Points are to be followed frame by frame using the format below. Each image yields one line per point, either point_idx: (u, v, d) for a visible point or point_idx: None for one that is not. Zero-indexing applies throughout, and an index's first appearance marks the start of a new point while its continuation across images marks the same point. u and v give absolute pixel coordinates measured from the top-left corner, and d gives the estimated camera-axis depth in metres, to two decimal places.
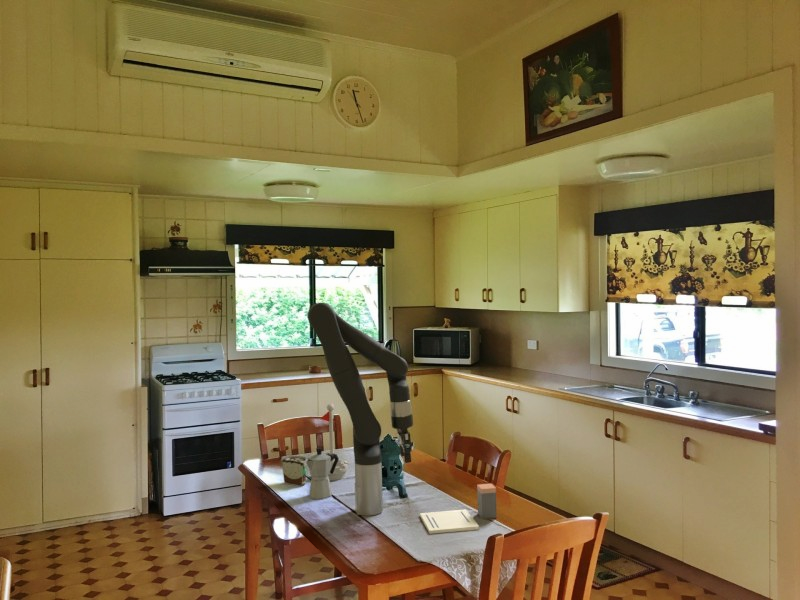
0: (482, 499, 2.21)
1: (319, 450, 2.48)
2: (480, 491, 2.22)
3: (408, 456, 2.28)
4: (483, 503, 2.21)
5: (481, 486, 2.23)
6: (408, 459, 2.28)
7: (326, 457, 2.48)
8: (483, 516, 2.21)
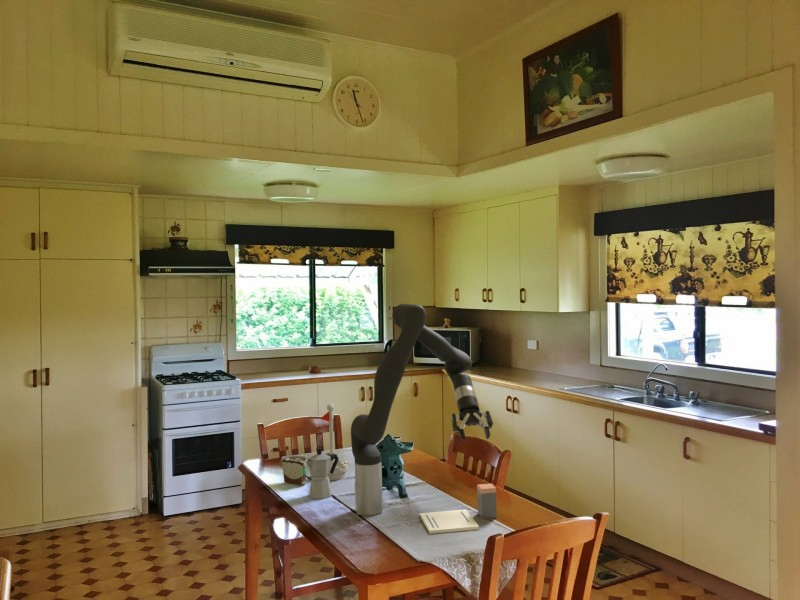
0: (482, 499, 2.21)
1: (319, 450, 2.48)
2: (480, 491, 2.22)
3: None
4: (483, 503, 2.21)
5: (481, 486, 2.23)
6: None
7: (326, 457, 2.48)
8: (483, 516, 2.21)
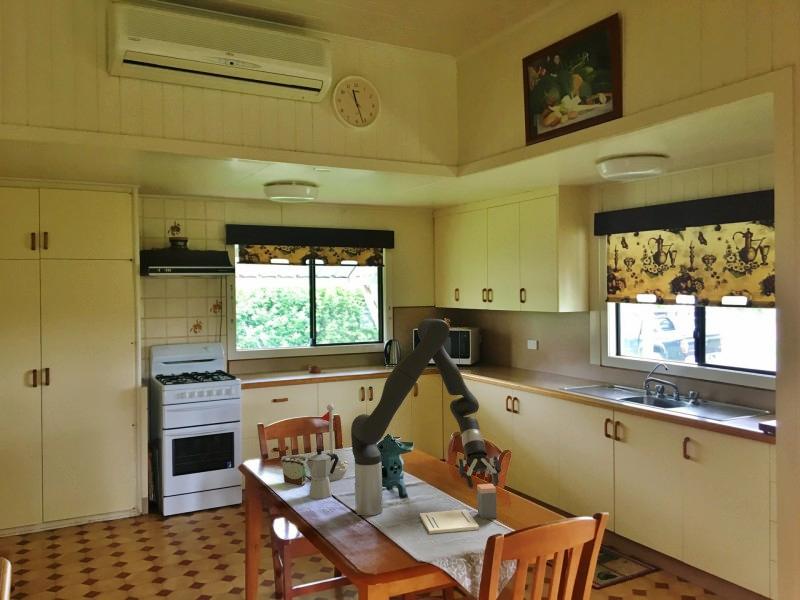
0: (482, 499, 2.21)
1: (319, 450, 2.48)
2: (480, 491, 2.22)
3: None
4: (483, 503, 2.21)
5: (481, 486, 2.23)
6: None
7: (326, 457, 2.48)
8: (483, 516, 2.21)
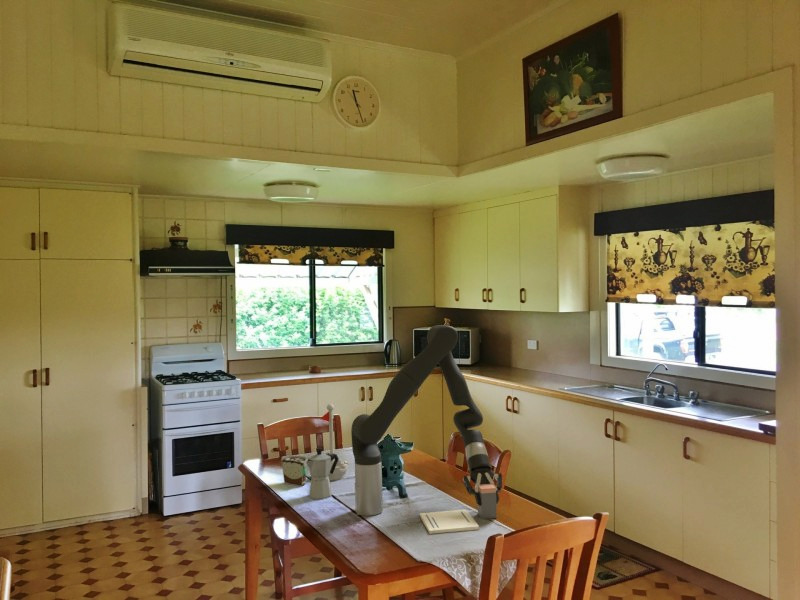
0: (482, 499, 2.21)
1: (319, 450, 2.48)
2: (480, 491, 2.22)
3: None
4: (483, 503, 2.21)
5: (481, 486, 2.23)
6: None
7: (326, 457, 2.48)
8: (483, 516, 2.21)
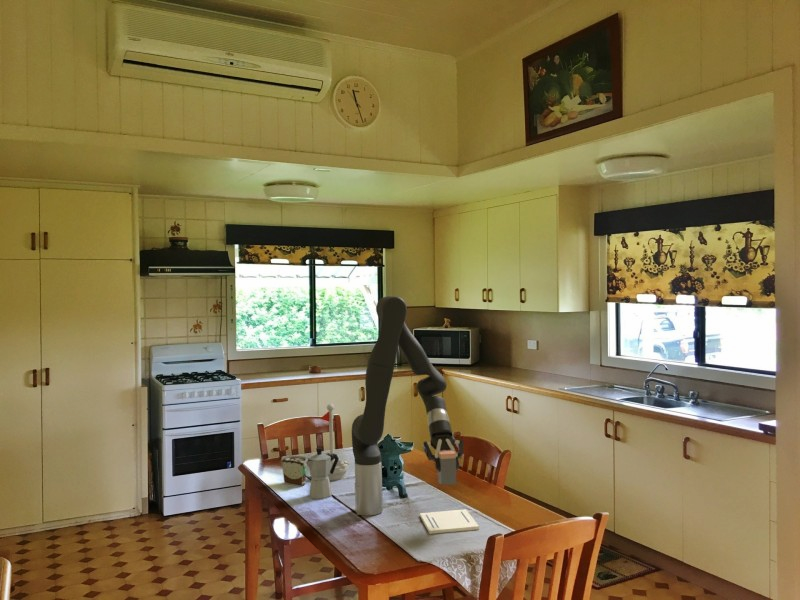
0: (441, 465, 2.15)
1: (319, 450, 2.48)
2: (439, 456, 2.16)
3: None
4: (442, 469, 2.15)
5: (441, 452, 2.18)
6: None
7: (326, 457, 2.48)
8: (442, 482, 2.15)
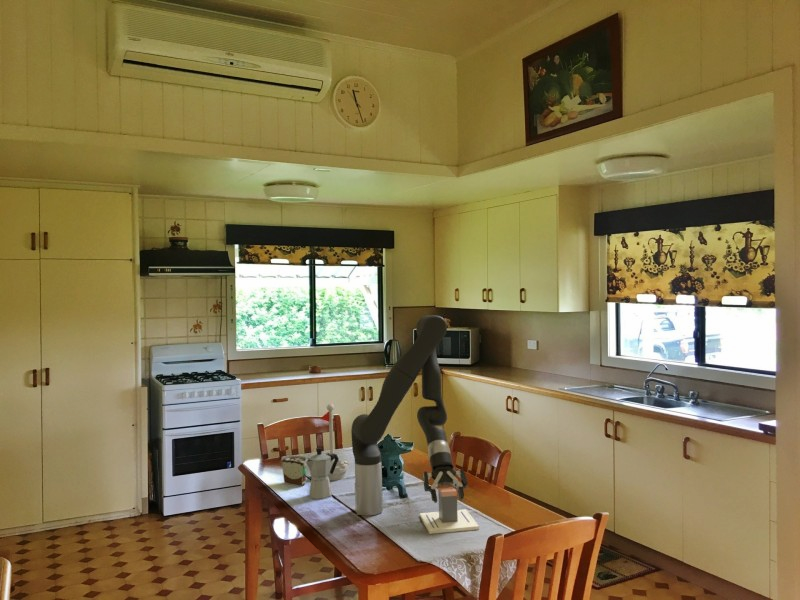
0: (442, 502, 2.15)
1: (319, 450, 2.48)
2: (441, 494, 2.16)
3: None
4: (443, 506, 2.15)
5: (442, 489, 2.18)
6: None
7: (326, 457, 2.48)
8: (443, 520, 2.16)
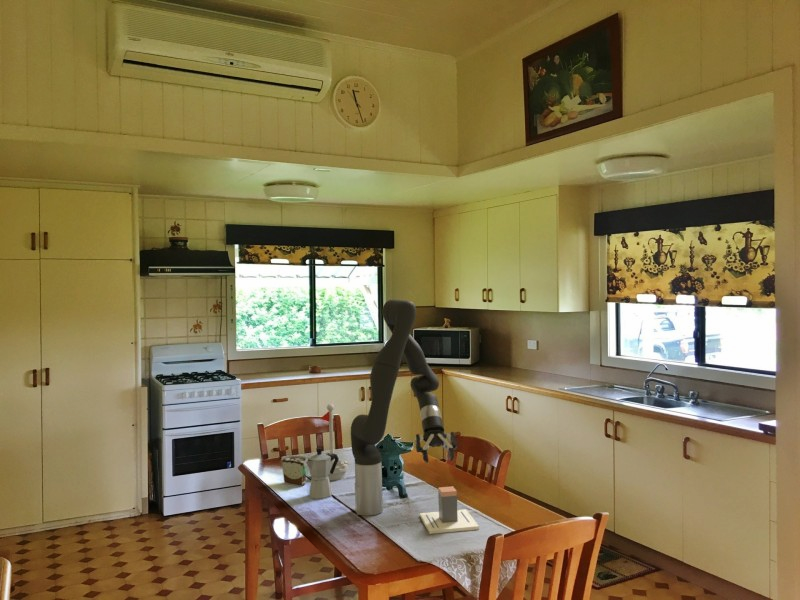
0: (442, 502, 2.15)
1: (319, 450, 2.48)
2: (441, 494, 2.16)
3: None
4: (443, 506, 2.15)
5: (442, 489, 2.18)
6: None
7: (326, 457, 2.48)
8: (443, 520, 2.16)
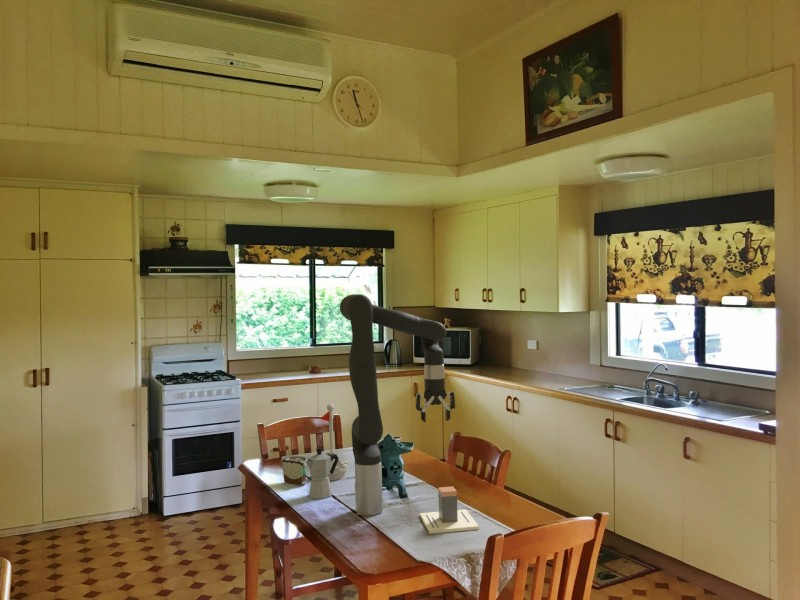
0: (442, 502, 2.15)
1: (319, 450, 2.48)
2: (441, 494, 2.16)
3: None
4: (443, 506, 2.15)
5: (442, 489, 2.18)
6: (449, 416, 2.43)
7: (326, 457, 2.48)
8: (443, 520, 2.16)
